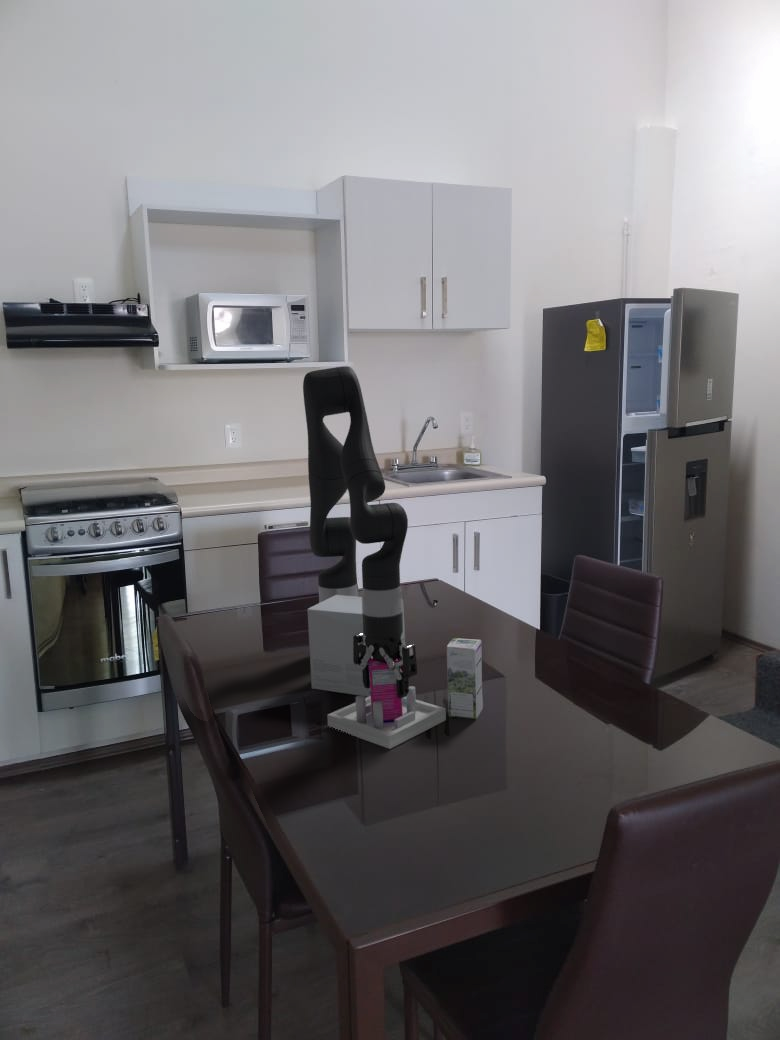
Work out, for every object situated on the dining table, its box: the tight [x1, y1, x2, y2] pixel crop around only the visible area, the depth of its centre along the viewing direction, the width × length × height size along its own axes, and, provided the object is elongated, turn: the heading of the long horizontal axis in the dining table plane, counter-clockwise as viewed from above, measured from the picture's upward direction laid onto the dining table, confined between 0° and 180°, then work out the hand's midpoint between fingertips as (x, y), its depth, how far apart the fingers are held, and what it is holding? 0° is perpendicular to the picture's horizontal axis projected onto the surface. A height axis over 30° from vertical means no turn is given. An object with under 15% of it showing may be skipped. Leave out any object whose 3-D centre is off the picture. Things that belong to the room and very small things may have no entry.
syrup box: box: [446, 637, 484, 720], centre depth 162 cm, size 6×6×14 cm
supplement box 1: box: [306, 595, 406, 698], centre depth 180 cm, size 17×13×18 cm
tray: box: [326, 685, 447, 749], centre depth 159 cm, size 16×16×6 cm
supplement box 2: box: [369, 658, 403, 723], centre depth 159 cm, size 6×6×12 cm
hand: (385, 692), depth 159 cm, fingers open, 8 cm apart
